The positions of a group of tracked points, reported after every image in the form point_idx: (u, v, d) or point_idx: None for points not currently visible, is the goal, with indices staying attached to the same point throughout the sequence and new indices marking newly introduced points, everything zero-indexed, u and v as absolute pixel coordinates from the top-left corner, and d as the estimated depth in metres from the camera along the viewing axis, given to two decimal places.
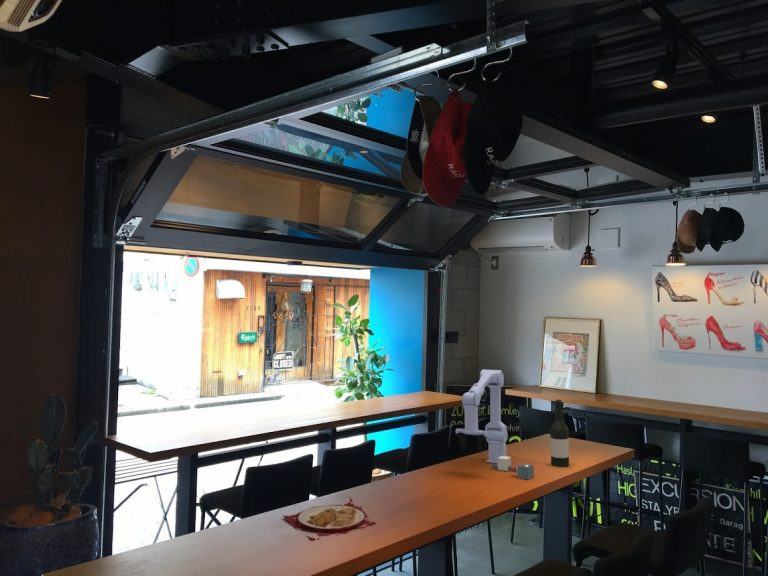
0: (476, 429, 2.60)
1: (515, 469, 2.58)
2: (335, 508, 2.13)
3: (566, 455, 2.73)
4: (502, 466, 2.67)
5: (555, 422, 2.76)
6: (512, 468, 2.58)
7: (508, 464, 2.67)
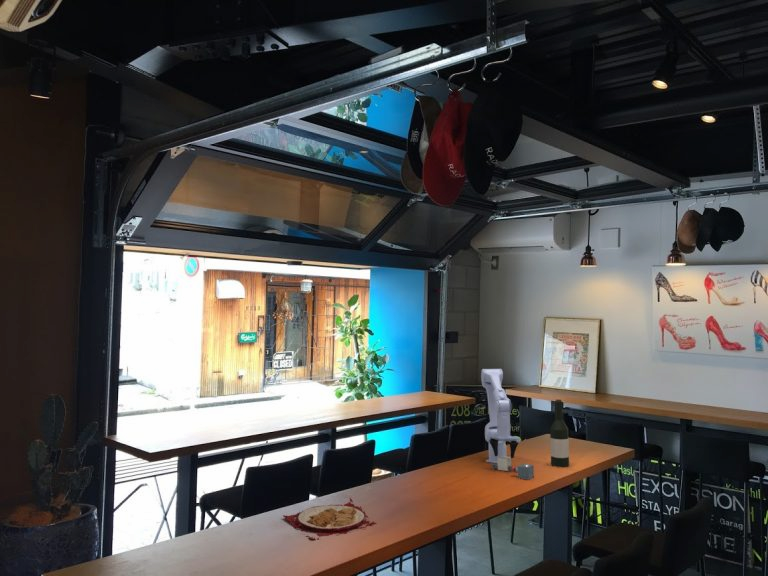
0: (508, 435, 2.68)
1: (515, 469, 2.58)
2: (335, 508, 2.13)
3: (566, 455, 2.73)
4: (502, 466, 2.67)
5: (555, 422, 2.77)
6: (512, 468, 2.58)
7: (508, 464, 2.67)
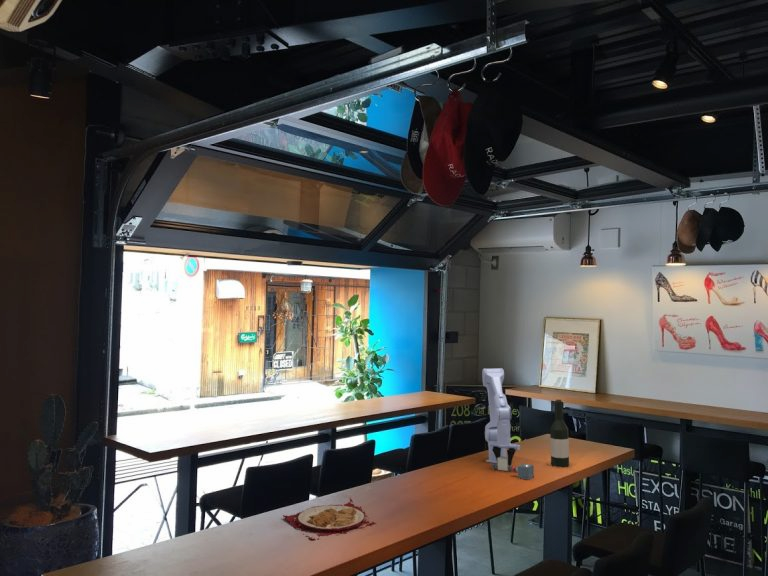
0: (508, 443, 2.67)
1: (515, 469, 2.58)
2: (335, 508, 2.13)
3: (566, 455, 2.73)
4: (502, 466, 2.67)
5: (555, 422, 2.76)
6: (512, 468, 2.58)
7: None
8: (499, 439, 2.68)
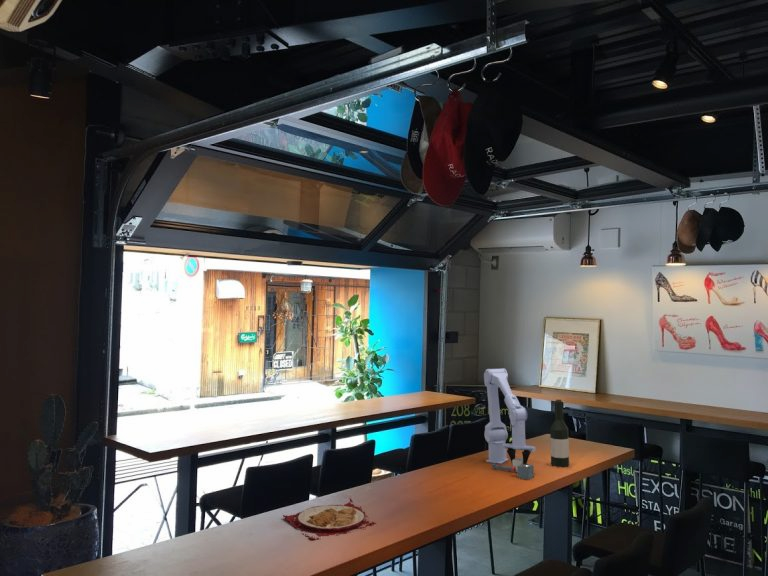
0: (524, 444, 2.64)
1: (515, 469, 2.58)
2: (335, 508, 2.13)
3: (566, 455, 2.73)
4: None
5: (555, 422, 2.76)
6: (512, 468, 2.58)
7: None
8: (514, 441, 2.64)
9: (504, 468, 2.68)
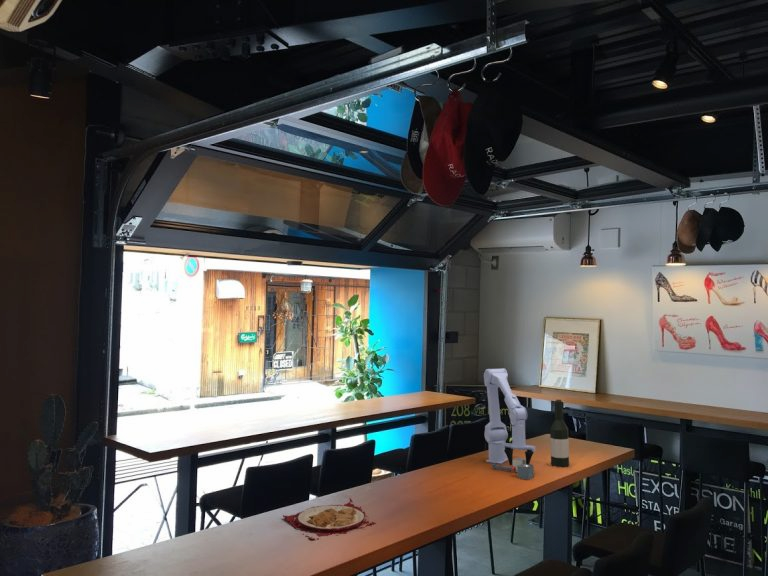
0: (524, 444, 2.64)
1: (515, 469, 2.58)
2: (335, 508, 2.13)
3: (566, 455, 2.73)
4: None
5: (555, 422, 2.76)
6: (512, 468, 2.58)
7: None
8: (514, 440, 2.64)
9: (504, 468, 2.68)
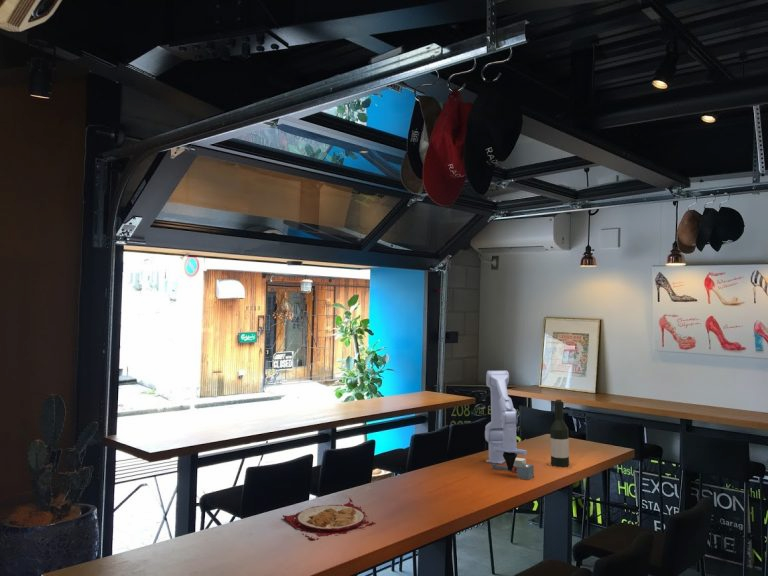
0: (515, 448, 2.58)
1: (516, 469, 2.58)
2: (335, 508, 2.13)
3: (566, 455, 2.73)
4: None
5: (555, 422, 2.76)
6: (513, 468, 2.58)
7: None
8: (505, 444, 2.59)
9: (504, 468, 2.68)
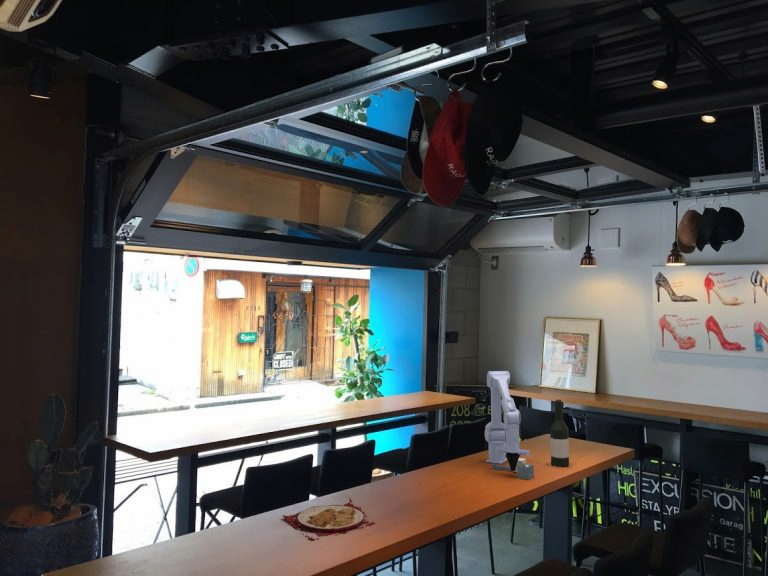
0: (518, 448, 2.57)
1: None
2: (334, 508, 2.13)
3: (566, 455, 2.73)
4: (517, 468, 2.63)
5: (555, 422, 2.76)
6: None
7: None
8: (508, 444, 2.58)
9: (504, 468, 2.68)
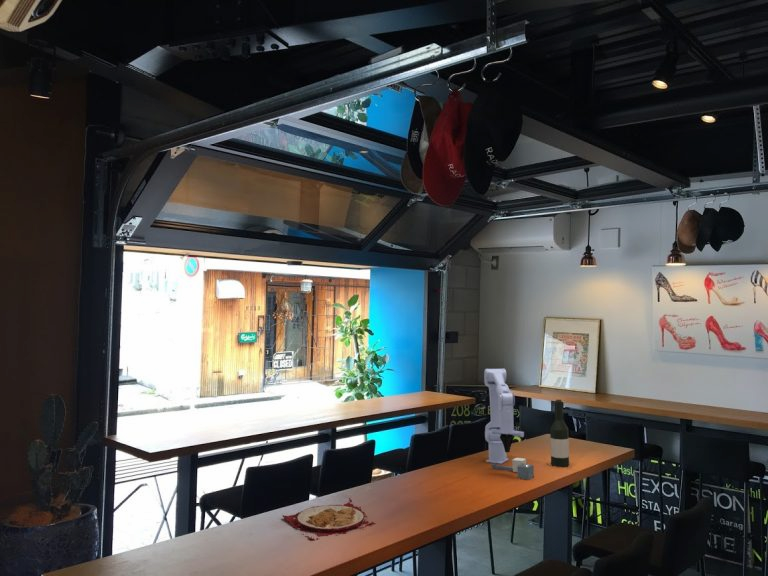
0: (512, 430, 2.59)
1: None
2: (334, 508, 2.13)
3: (566, 455, 2.73)
4: (517, 468, 2.63)
5: (555, 422, 2.76)
6: None
7: None
8: (502, 426, 2.60)
9: (504, 468, 2.68)
